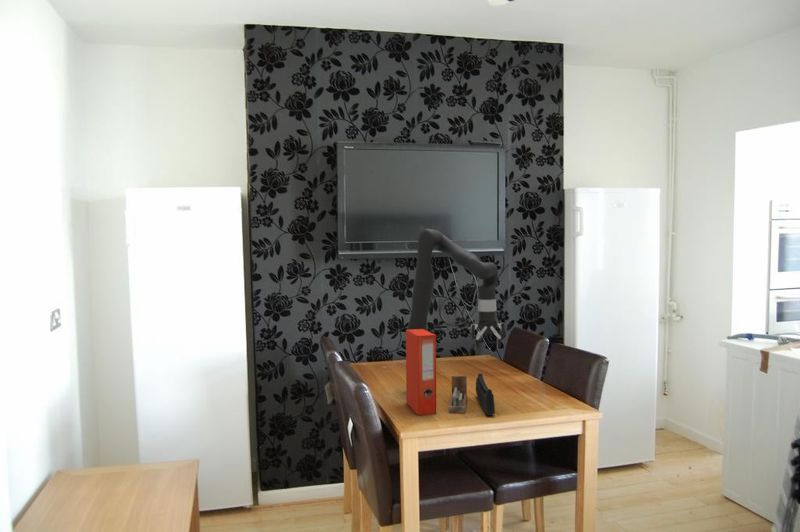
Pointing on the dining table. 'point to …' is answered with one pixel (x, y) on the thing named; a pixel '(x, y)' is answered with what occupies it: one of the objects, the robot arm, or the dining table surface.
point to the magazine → (484, 395)
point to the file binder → (421, 371)
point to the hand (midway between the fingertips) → (488, 348)
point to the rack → (461, 385)
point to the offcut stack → (457, 398)
